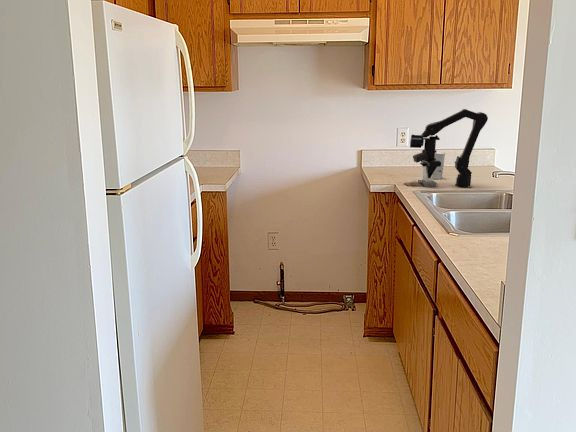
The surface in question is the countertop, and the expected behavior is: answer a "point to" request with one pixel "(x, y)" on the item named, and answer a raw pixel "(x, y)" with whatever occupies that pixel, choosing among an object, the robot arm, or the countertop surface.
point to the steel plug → (426, 175)
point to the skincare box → (439, 170)
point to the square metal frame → (427, 183)
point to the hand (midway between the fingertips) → (427, 177)
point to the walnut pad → (412, 184)
